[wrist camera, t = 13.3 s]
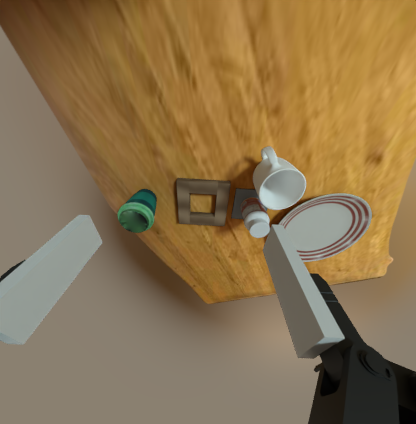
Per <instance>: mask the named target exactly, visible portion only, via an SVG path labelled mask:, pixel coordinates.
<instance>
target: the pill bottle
mask: <svg viewBox="0 0 416 424" xmlns="http://www.w3.org/2000/svg"><path fill="white" fill-rule="evenodd" d="M240 208H241V213H242V216H243V220H244V224H245V227H246V228H247V229H248V230H249V231H250V234H251V235H252V236H253V237H257V238H260V237H264V236H266V235H267V234H268V233H269V231H270V227H269V217H268V214H267V212H266V210H265V208H264V206H263V204H262V203H261V201H260V200H259V199H258V198H255V197H249V198H247V199H245V200H244V201H243V202H242V203H241V207H240Z"/></svg>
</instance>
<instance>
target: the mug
mask: <svg viewBox="0 0 416 424" xmlns="http://www.w3.org/2000/svg"><path fill="white" fill-rule="evenodd" d="M261 156H262V161H261V162H260V163H259V164H258V165H257V167H256V168H255V170H254V173H253V184H254V187H255V189H256V192H257V194H258V196H259V198H260V201H261V203H262V204H263V205H264V206H265V207H267V208H269V209H273V210H281V209H285V208H288V207H290V206H292V205H294V204H295V203H296V202H297V201H298V200H299V199H300V198H301V197H302V195H303V194H304V192H305V189H306V180H305V177H304V175H303V174H302V173H301V172H300V171H299V170H297V169H296V168H295V167H294V166H293V165H292V164H290V163H289V162H288V161H286V160H284V159H282V158H279V157H277V156H276V154H275V152H274V150H273V148H272V147H271V146H268V147H265V148H263V149H262V150H261Z"/></svg>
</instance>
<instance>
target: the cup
mask: <svg viewBox="0 0 416 424" xmlns="http://www.w3.org/2000/svg"><path fill="white" fill-rule="evenodd" d="M156 201H157V198H156V195H155V194H154V193H153V192H152V191H150V190H147V189H142V190H139V191H138V192H137V193H136V194H134V195H133V196H132V197H131V198H130V199H129V200H128V201H127V202H126V204H124V205H123V206H122V207H121V208H120V209H119V211H118V219H119V222H120V224H121V225H122V226H123V227H124V228H125V229H126V230H128V231H131V232H135V233H139V232H143V231H146V230H148V229H149V228H150V227H151V226H152V225H153V223H154V215H155V209H156Z"/></svg>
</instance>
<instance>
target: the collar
mask: <svg viewBox="0 0 416 424" xmlns="http://www.w3.org/2000/svg"><path fill="white" fill-rule="evenodd" d="M176 182H177V198H178V213H179V224H196V225H213V226H225V220H226V213H227V206H228V199H229V192H230V185H231V184H230V181H219V180H202V179H186V178H178V179H177V181H176ZM190 193H197V194H214V195H216V206H215V213H203V212H190Z"/></svg>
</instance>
